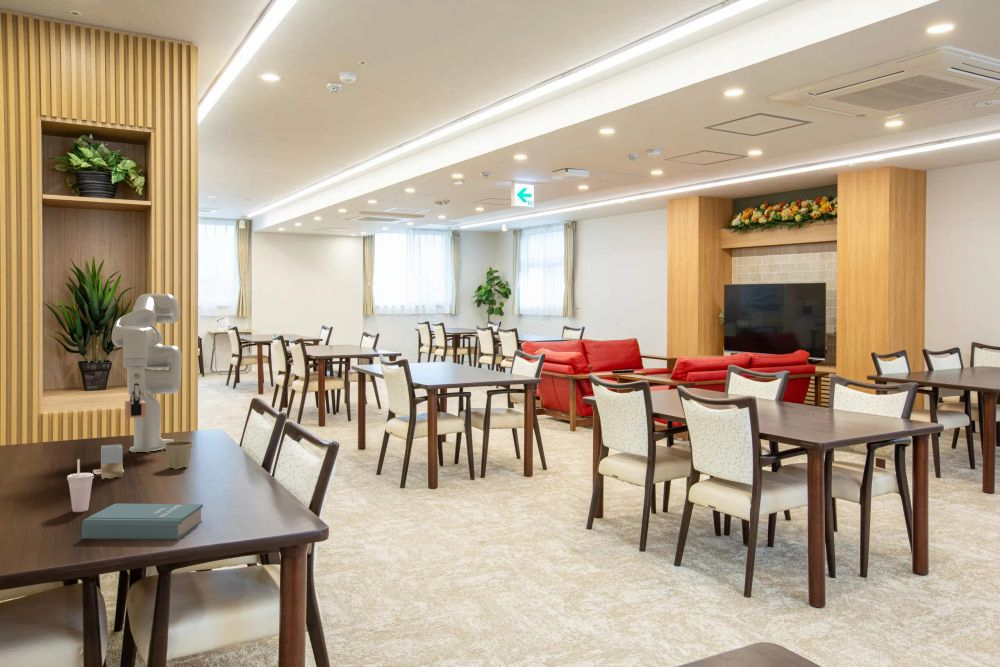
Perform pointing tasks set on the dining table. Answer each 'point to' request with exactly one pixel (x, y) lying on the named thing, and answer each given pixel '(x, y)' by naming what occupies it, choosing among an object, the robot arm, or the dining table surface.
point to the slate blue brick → (111, 453)
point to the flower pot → (178, 453)
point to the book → (142, 521)
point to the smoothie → (80, 489)
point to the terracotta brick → (128, 409)
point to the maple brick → (112, 470)
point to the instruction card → (98, 471)
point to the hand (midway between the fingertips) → (135, 413)
